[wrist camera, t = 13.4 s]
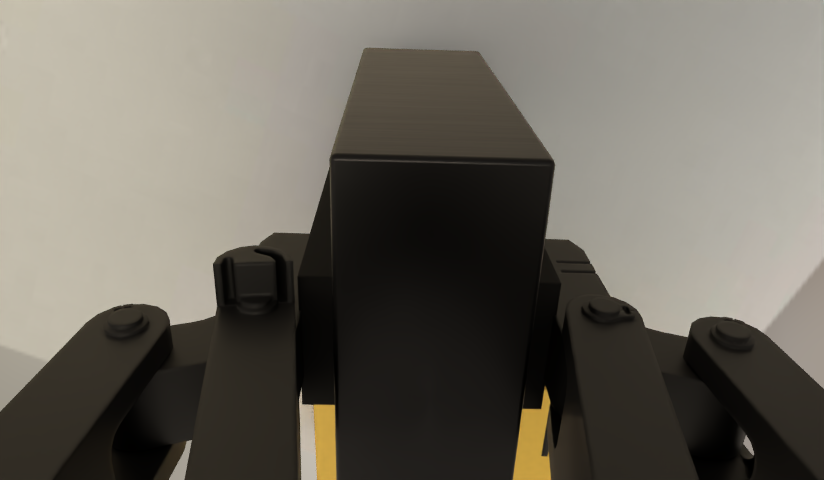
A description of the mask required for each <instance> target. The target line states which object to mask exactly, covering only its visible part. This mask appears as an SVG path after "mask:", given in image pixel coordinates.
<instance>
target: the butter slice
mask: <svg viewBox="0 0 824 480" xmlns="http://www.w3.org/2000/svg"><path fill="white" fill-rule="evenodd" d="M314 423H315V445H316V466H317V480H336V441H335V405H314Z"/></svg>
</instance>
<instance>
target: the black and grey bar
mask: <svg viewBox="0 0 824 480" xmlns="http://www.w3.org/2000/svg"><path fill="white" fill-rule="evenodd" d="M329 161H330V208H331V254H332V301H333V347H334V394H335V441H336V480H513V475H514V468H515V460H516V453H517V446H518V438H519V431H520V423H521V416H522V408H523V401H524V393H525V386H526V378H527V371H528V363H529V356H530V349H531V341H532V334H533V326H534V319H535V311H536V304H537V296H538V289H539V281H540V274H541V267H542V259H543V252H544V244H545V237H546V229H547V222H548V214H549V207H550V199H551V192H552V184H553V177H554V170H555V163H554V160H553V158H552V157H551V155H550V154H549V153H548V151H547V150H546V148H545V147H544V145H543V144H542V142H541V141H540V140H539V138H538V137H537V135H536V134H535V132H534V131H533V129H532V128H531V127H530V125H529V124H528V122H527V121H526V119H525V118H524V117H523V115H522V114H521V112H520V111H519V109H518V108H517V106H516V105H515V104H514V102H513V101H512V99H511V98H510V96H509V95H508V93H507V92H506V91H505V89H504V88H503V86H502V85H501V83H500V82H499V80H498V79H497V78H496V76H495V75H494V73H493V72H492V70H491V69H490V67H489V66H488V65H487V63H486V62H485V60H484V59H483V57H482V56H481V54H480V53H479V52H477V51H451V50H420V49H389V48H365V49H364V50H363V53H362V56H361V59H360V63H359V66H358V69H357V72H356V75H355V79H354V82H353V85H352V88H351V91H350V95H349V98H348V101H347V104H346V107H345V111H344V114H343V117H342V120H341V123H340V127H339V130H338V133H337V136H336V139H335V143H334V146H333V149H332V152H331V155H330V159H329Z"/></svg>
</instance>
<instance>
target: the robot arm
mask: <svg viewBox="0 0 824 480" xmlns="http://www.w3.org/2000/svg"><path fill="white" fill-rule="evenodd" d="M213 270H214V279H215V289H216V299H217V311H216V316H213V317H211V318H208V319H205V320H201V321H196V322H191V323H185V324H178V325H172V326H170V320H169V317H168V315H167V312H165V311H164V310H162V309H160V308H159V307H156V306H151V305H146V304H127V305H123V306H117V307H113V308H112V309H109V310H107V311H104V312H102V313H100V314H98V315H96V316H95V317H93V318H92V319H91V320H89V321H88V322H87V323H86V324H85V325H84V326H83V327H82V328H81V329H80V330H79V331H78V332H77V333H76V334H75V335H74V336H73V337H72V338H71V339H70V340H69V341H68V342H67V343H66V345H65V346H64V347H63V348H62V349H61V350H60V351H59V352H58V353H57V354H56V355H55V356H54V357H53V358H52V359H51V360H50V361H49V362H48V363H47V364H46V365H45V366H44V367H43V368H42V369H41V371H39V372H38V374H36V375H35V377H34V378H33V379H32V380H31V381H30V382H29V383H28V384H27V385H26V386H25V387H24V388H23V389H22V390H21V391H20V392H19V393H18V394H17V395H16V396H15V397H14V398H13V399H12V400H11V401H10V402H9V403H8V404H7V405H6V407H5V408H3V409H2V411H1V412H0V480H169V478H170V476H171V474H172V472H173V470H174V469H175V467H176V465H177V463H178V461H179V459H180V457H181V456H182V454H183V452H184V449H185V445H186V441H189V440H192V443H191V448H190V454H189V459H188V464H187V470H186V475H185V480H301V455H300V453H301V451H300V413H299V397H300V392H301V387H302V404H309V405H335V394H334V347H333V301H332V254H331V208H330V167H329V171H328V174H327V178H326V181H325V184H324V188H323V191H322V195H321V198H320V201H319V205H318V208H317V212H316V215H315V218H314V222H313V225H312V229H311V232H310V234H299V233H273V234H272V235H270V236H269V237H268V238H266V239H265V240H263V241H262V242H261V243H260V245H259V246H256V245H255V246H247V247H240V248H236V249H233V250H230V251H227V252H225V253H224V254H222V255H220V256H219V257H217V259H216V260H215V262H214V263H213ZM595 272H596V271H595V269H594V268H593V266H592V264H590V261H589V259H588V257H587V256H586V254H585V252H584V250H582V249H581V248H579V247H578V246H577V245H575V244H574V243H572V242H571V241H569V240H558V239H545V244H544V252H543V259H542V267H541V274H540V281H539V289H538V296H537V304H536V311H535V319H534V326H533V334H532V341H531V349H530V356H529V363H528V371H527V378H526V386H525V393H524V401H523V408H522V409H541V408H542V402H543V395H544V389H545V386H546V389H547V392H548V396H549V399H550V406H549V412H548V418H547V424H546V430H545V436H544V442H543V448H542V454H541V456H545V457H547V456H548V452H549V461H550V474H551V480H824V389H823V388H822V387H821V386H820V385H819V384H818V383H817V382H816V381H815V380H814V379H812V378H811V377H810V376H809V375H808V374H807V373H806V372H805V371H804V370H803V369H802V368H801V367H800V366H799V365H797V364H796V363H795V362H794V361H793V360H792V359H791V358H790V357H789V356H788V355H787V354H786V353H785V352H784V351H783V350H782V349H780V347H778V346H777V345H776V344H775V343H774V342H773V341H772V340H771V339H770V338H769V337H768V336H766V335H765V334H764V333H762V332H761V331H759V330H758V329H757V328H754V327H752V326H750V325H748V324H745V323H744V322H742V321H740V320H736V319H734V320H733V318H727V317H705V318H699V319H698V320H696V321H694V322H693V323H692V324H691V328H690V332H689V335H688V337H683V336H679V335H674V334H669V333H664V332H659V331H656V330H652V329H648V328H646V327H645V325H644V322H643V319H642V317H641V315H640V314H639V312H638V311H637V310H636V309H635V308H634V307H632V306H631V305H629V304H628V303H626V302H624V301H621V300H619V299H616V298H614V297H610V295H609V294H608V292H607V290H606V288H605V287H604V285H603V283H602V281H601V280H600V278H599V276H598V275H597V274H596V273H595ZM746 435H747V437H748V438H749V440H750V442H751V444H752V447H753V451H754V456H753V455H752V454H751V453H750V452H749V451H748V449H747V448H746V447H745V445H743V442H744V439H745V436H746Z"/></svg>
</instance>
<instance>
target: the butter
mask: <svg viewBox="0 0 824 480" xmlns="http://www.w3.org/2000/svg"><path fill="white" fill-rule="evenodd" d="M549 406H550V399H549V396H548V392H547V389H546V386H545V389H544V395H543V402H542V408H541V409H522V416H521V423H520V431H519V438H518V446H517V453H516V460H515V468H514V475H513V480H551V474H550V461H549V452H548V456H547V457H545V456H541V454H542V448H543V442H544V436H545V430H546V424H547V418H548V412H549Z"/></svg>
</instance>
